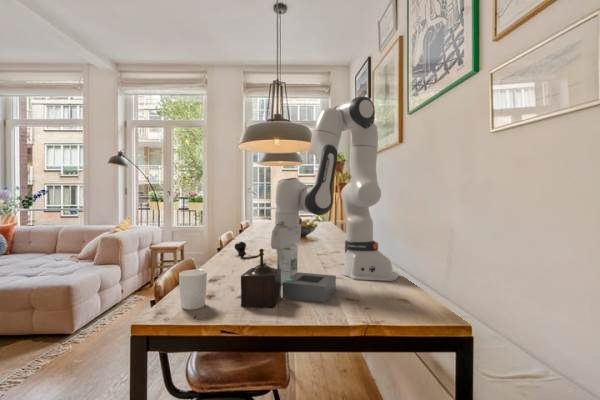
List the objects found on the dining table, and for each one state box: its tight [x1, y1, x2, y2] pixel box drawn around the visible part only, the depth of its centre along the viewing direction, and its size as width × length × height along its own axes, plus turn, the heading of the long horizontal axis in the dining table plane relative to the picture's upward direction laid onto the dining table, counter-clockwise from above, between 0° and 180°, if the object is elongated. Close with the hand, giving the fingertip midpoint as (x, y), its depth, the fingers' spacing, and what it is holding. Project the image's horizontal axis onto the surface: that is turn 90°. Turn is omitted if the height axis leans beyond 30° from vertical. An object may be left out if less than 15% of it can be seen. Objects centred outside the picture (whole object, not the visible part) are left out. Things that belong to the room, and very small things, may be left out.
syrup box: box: [276, 244, 299, 286], centre depth 117 cm, size 6×6×14 cm
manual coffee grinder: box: [234, 241, 282, 309], centre depth 97 cm, size 16×11×18 cm
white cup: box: [178, 268, 208, 311], centre depth 93 cm, size 8×8×10 cm
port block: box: [282, 271, 337, 304], centre depth 104 cm, size 14×14×6 cm
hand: (286, 258), depth 116 cm, fingers open, 8 cm apart
